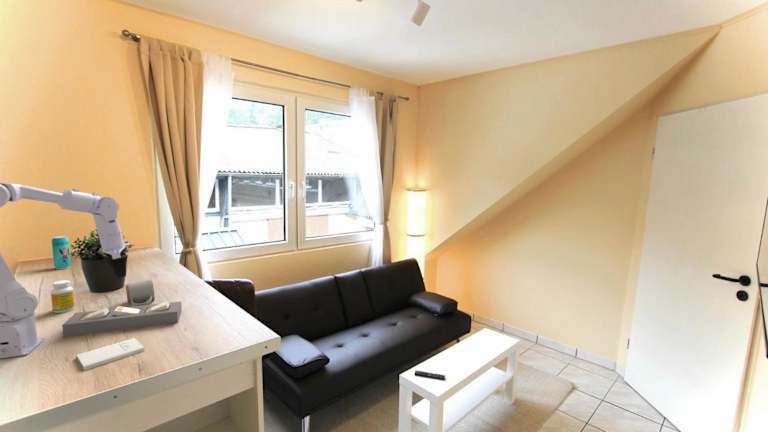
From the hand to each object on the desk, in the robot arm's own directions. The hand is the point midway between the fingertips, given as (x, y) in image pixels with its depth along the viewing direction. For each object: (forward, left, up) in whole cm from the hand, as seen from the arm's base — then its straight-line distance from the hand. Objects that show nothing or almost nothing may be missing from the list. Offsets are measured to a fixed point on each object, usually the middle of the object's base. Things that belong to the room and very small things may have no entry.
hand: (120, 273), depth 112 cm
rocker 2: (-9, -3, -10) cm, 14 cm away
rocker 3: (-9, -11, -10) cm, 18 cm away
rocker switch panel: (-9, -3, -14) cm, 17 cm away
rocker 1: (-9, +5, -10) cm, 14 cm away
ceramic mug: (+10, -3, -14) cm, 17 cm away
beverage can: (+70, +40, -14) cm, 82 cm away
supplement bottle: (+10, +19, -14) cm, 25 cm away
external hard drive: (-29, -4, -15) cm, 33 cm away
